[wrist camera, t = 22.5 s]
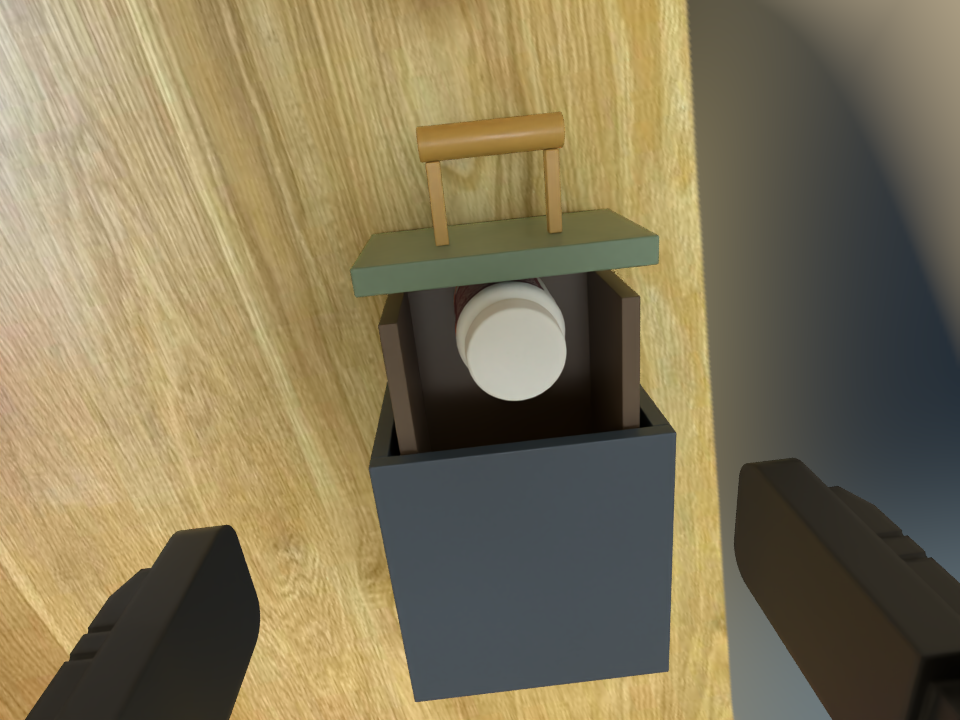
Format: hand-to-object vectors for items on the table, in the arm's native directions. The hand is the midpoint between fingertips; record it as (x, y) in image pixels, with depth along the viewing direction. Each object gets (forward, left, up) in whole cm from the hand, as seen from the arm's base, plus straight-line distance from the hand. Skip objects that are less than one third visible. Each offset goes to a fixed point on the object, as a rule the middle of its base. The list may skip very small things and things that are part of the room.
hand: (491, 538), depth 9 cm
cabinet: (+6, +13, -24) cm, 28 cm away
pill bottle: (0, +3, -23) cm, 23 cm away
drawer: (0, +4, -23) cm, 24 cm away
